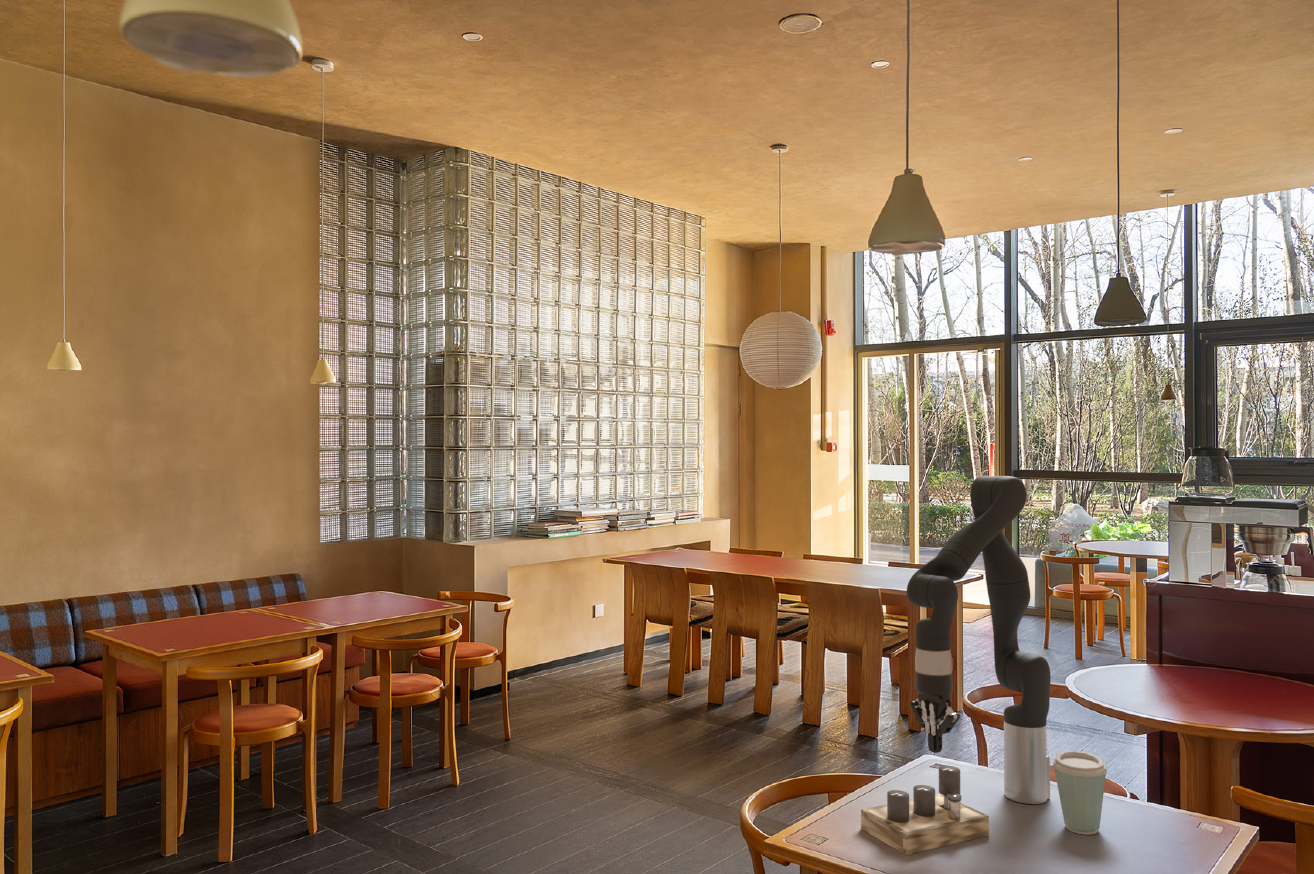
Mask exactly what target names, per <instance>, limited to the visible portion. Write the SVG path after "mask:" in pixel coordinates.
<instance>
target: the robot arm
mask: <svg viewBox="0 0 1314 874" xmlns="http://www.w3.org/2000/svg"><path fill="white" fill-rule="evenodd" d="M969 494H970V495H969V496H970V505H971V509H972V514H973V517H974V520H972V521H971V522H970V523H968V524H966V525H965V526H963V527H962V528H960V529H959V530H958V531H956V532H955V533H953V534H952V535H951V537H950V538H948V540H947V541H946V542H945V544H944V545H943V547H942V548H941V549H940V551H939V552H938V553H937V554H936V556H935V557H933V559H931V560H929V561H928V562H927V563H926V564H924V565H923V566H922V567H920V568H919V569H918V570H917V571H916V572H914V574H913V575H912V576H911V578H910V579H909V580H908V583H907V586H906V595H907V596H906V597H907V598H908V601H909V602H910V603H911V604H912V605H914V606H917V607H920V608H927V609H931V610H932V613H931V616H930V617H929V618H928V617H927V618H921V619H920V620H918V621H917V622H916V624H915V653H914V654H915V655H914V656H915V657H914V667H915V668H914V669H915V670H914V671H915V672H914V675H915V678H914V679H915V681H914V682H915V690H916V692H917V698H916V699H915V700H913V701H910V702H909V705H910V708H911V709H912V712H913V714H914V716H915V718H916V721H917V723H918V726H919V727H920V728H921V729H924V730H925V732H926V733H927V746H928V747H927V748H928V750H929V752H931V753H934V754H937V753H941V752H942V750H943V735H946V734H950V733H951V731H952V730H953V728H954V727H955V725H956V724H957V723H958V722H959V720H960V719H961V714H959V712H955V711H954V710H953V708H952V701H951V698H950V696H951V694H952V693H953V658H952V652H951V627H952V624H953V619H954V615H955V611H956V608H957V604H958V601H959V600H958V599H959V593H958V591H959V590H958V587H957V585H956V583H955V582H956V581H960V580H961V579H963V578H964V577H965V575H966V574H967V573H968V571H969V570H970V569H971V567H972V566H973V564H974V563H975V561H976V560H977V558H978V557H979V555H981V553H982V558H983V559H982V560H983V565H984V573H985V574H984V575H985V582H986V584H985V585H986V590H987V596H988V599H989V602H988V603H989V606H990V608H989V609H990V614H991V615H990V617H991V623H992V633H993V634H992V635H993V655H994V656H993V657H994V658H993V659H994V670H995V671H994V672H995V676H996V679H997V681H998V683H999V685H1000V686H1001V687H1003V688H1004V689H1007V690H1009V691H1014V692H1016V693H1017V692H1018V693H1021V694H1022V696H1021V703H1020V704H1013V705H1008V706H1006V707H1005V708H1004V709H1003V779H1004V781H1003V783H1004V785H1003V787H1004V790H1003V792H1004V793H1003V794H1004V796H1005V797H1006V798H1007V799H1009V800H1011V801H1014V802H1016V803H1021V804H1027V805H1041V804H1044V803H1046V802H1047V801H1048V799H1050V798H1051V762H1050V760H1051V757H1050V756H1049V755H1047V754H1048V750H1047V749H1048V747H1047V746H1048V743H1047V738H1048V737H1047V736H1048V735H1047V733H1048V732H1047V731H1048V730H1047V729H1048V728H1047V725H1048V723H1047V722H1048V721H1047V720H1048V716H1049V712H1050V711H1049V710H1050V697H1051V669H1050V664H1049V662H1048V661H1047V659H1046V658H1045V657H1043V656H1041V655H1040V654H1039V655H1038V654H1034V653H1029V652H1024V651H1021V650H1020V648H1019V641H1018V629H1019V625H1020V623H1021V620H1022V619H1023V617H1024V615H1025V614H1026V611H1027V609H1028V607H1029V604H1030V601H1031V589H1030V580H1029V575H1028V570H1027V567H1026V565H1025V563H1024V562H1023V560H1022V559H1021V557H1020V555H1019V554H1018V552H1017V551H1016V550H1015V549H1014V548H1013V546H1012V544H1010V542H1009V540H1008V539H1007V537H1006V535H1005V534H1004V531H1003V530H1005V528H1006V527H1007V526H1009V525H1010V524H1011V522H1012V521H1013V520H1015V518H1017V517H1018V516H1019V514H1020V513H1021V512H1022V511H1023V509H1024V507H1025V505H1026V502H1027V495H1028V494H1027V489H1026V485H1025V483H1024V482H1023V481H1022V479H1020V478H1019V477H1015V476H1013V475H1012V476H1011V475H1010V476H1009V475H983V476H977V477H976V478H974V480H973V482H972V483H971V487H970V493H969Z"/></svg>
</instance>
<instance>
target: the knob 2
mask: <svg viewBox="0 0 1314 874" xmlns="http://www.w3.org/2000/svg"><path fill="white" fill-rule="evenodd" d="M948 793H957V794H960V795H961V769H960V768H958V767H957V766H953V765H941V766H938V794H942V795H944V807H945V808H947V809H948V799H947V794H948Z"/></svg>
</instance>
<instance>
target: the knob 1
mask: <svg viewBox="0 0 1314 874" xmlns="http://www.w3.org/2000/svg"><path fill="white" fill-rule="evenodd" d="M886 797H887V798H886V803H887V804H886V805H887V818H888V819H889V820H890V821H893V822H897V823H904V822H908V821H909V800H910V793H909V792H907V791H904V790H899V789H892V790H888V791H887V793H886Z"/></svg>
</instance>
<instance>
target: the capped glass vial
mask: <svg viewBox="0 0 1314 874" xmlns="http://www.w3.org/2000/svg"><path fill="white" fill-rule="evenodd" d="M947 799H948V818H949V819H950V820H953V821H959V820H961V807H960V803H961V801H962V795H961V793H960V794H957V793H948V794H947Z"/></svg>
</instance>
